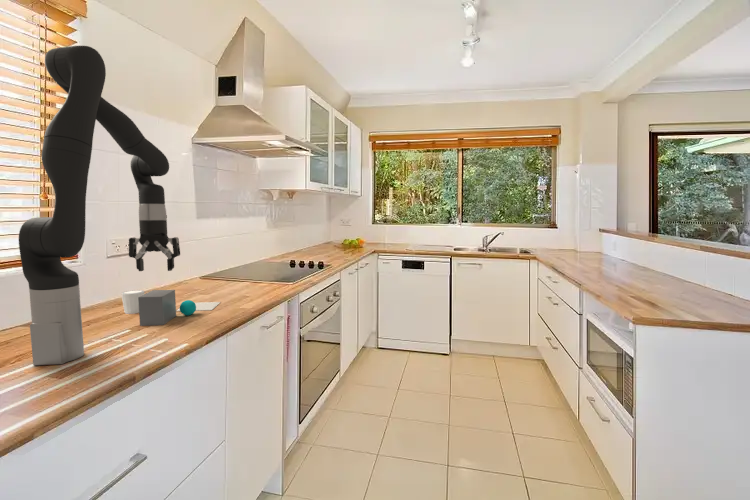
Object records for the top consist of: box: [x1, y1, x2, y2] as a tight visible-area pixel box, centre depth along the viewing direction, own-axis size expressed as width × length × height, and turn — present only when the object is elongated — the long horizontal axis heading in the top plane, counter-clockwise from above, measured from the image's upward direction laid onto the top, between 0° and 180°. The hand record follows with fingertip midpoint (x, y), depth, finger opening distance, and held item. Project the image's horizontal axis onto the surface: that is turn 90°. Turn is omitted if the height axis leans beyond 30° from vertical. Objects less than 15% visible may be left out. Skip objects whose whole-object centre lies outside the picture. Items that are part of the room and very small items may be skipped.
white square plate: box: [176, 301, 221, 312], centre depth 149 cm, size 12×12×1 cm
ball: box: [179, 299, 196, 316], centre depth 137 cm, size 5×5×5 cm
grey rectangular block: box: [138, 289, 177, 327], centre depth 130 cm, size 11×7×9 cm, turn 7°
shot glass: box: [121, 289, 145, 315], centre depth 141 cm, size 7×7×7 cm
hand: (155, 270), depth 129 cm, fingers open, 8 cm apart
